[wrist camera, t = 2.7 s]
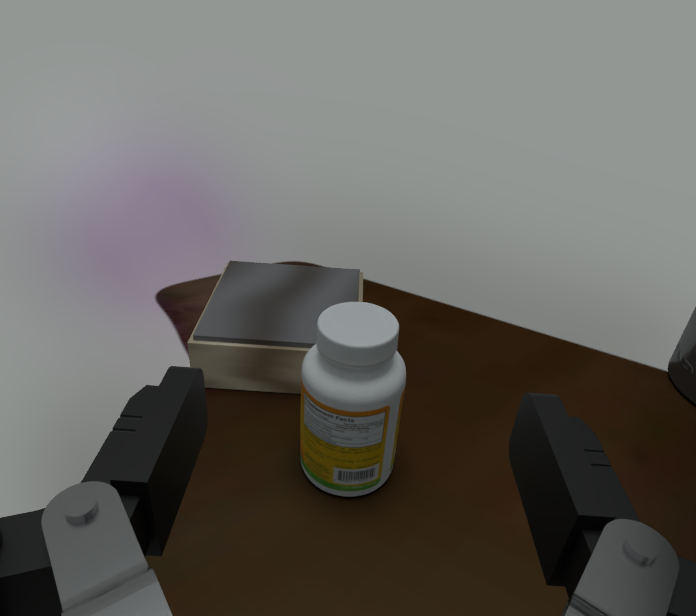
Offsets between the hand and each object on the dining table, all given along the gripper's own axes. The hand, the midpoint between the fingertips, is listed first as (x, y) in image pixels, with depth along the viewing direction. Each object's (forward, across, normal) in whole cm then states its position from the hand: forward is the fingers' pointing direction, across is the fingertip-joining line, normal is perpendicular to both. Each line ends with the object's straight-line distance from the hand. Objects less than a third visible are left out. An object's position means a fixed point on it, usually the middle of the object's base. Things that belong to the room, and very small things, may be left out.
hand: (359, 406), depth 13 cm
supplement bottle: (+12, 0, +15) cm, 19 cm away
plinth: (+22, +5, +14) cm, 27 cm away
